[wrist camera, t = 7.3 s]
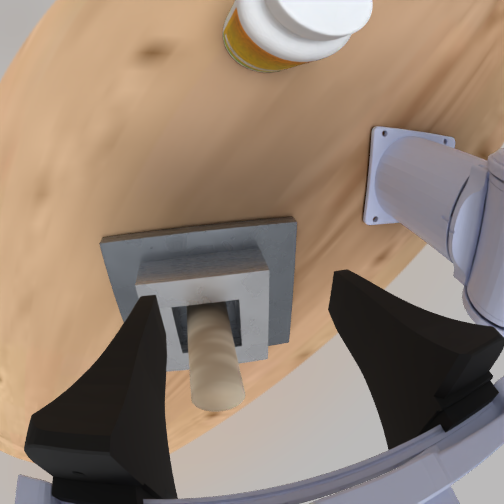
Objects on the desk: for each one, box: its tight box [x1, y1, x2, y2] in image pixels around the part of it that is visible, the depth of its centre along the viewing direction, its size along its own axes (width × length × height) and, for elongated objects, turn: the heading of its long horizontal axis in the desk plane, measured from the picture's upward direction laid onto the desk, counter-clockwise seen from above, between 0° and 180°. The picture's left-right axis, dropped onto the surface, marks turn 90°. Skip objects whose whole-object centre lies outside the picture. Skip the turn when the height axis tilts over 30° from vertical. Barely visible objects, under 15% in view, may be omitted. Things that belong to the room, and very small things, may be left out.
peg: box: [187, 301, 245, 411], centre depth 19 cm, size 3×3×9 cm
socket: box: [100, 217, 297, 372], centre depth 22 cm, size 14×12×4 cm
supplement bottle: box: [223, 0, 372, 72], centre depth 11 cm, size 5×5×10 cm
